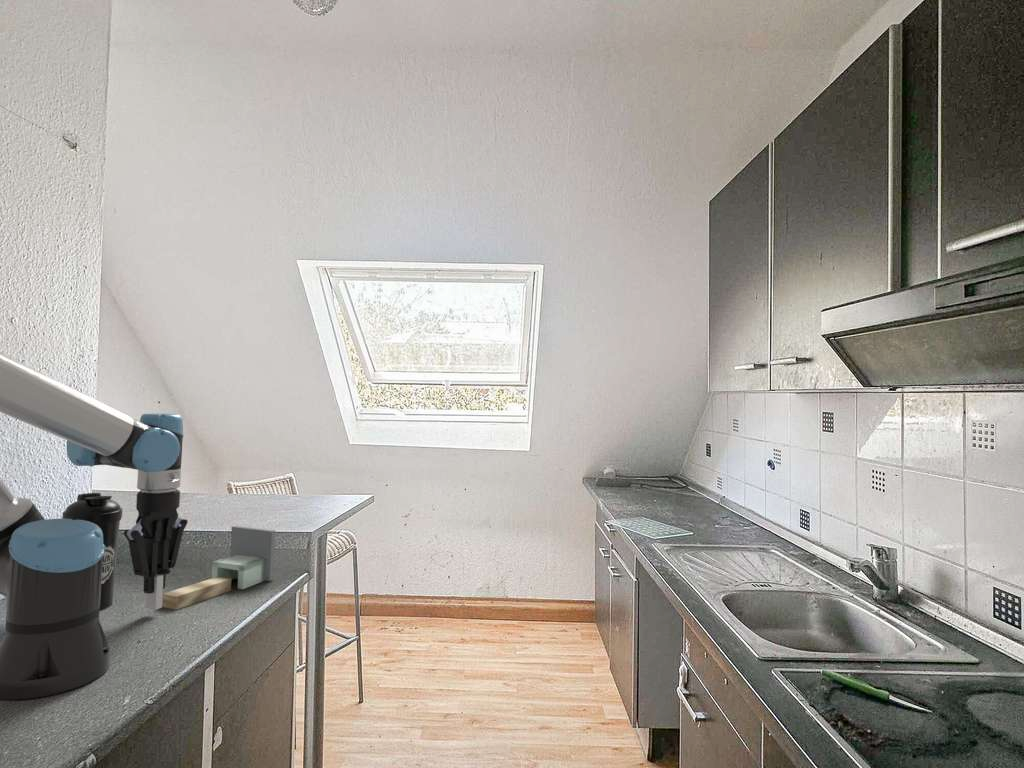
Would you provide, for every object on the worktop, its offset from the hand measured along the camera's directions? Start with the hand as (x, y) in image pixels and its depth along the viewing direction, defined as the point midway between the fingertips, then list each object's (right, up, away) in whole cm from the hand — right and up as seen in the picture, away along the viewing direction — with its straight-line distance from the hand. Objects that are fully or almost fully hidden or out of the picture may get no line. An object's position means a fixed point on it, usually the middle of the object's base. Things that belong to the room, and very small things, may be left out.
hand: (153, 607), depth 118 cm
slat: (+3, -2, +11) cm, 11 cm away
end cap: (+7, -3, +22) cm, 23 cm away
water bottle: (-16, -1, +3) cm, 16 cm away
